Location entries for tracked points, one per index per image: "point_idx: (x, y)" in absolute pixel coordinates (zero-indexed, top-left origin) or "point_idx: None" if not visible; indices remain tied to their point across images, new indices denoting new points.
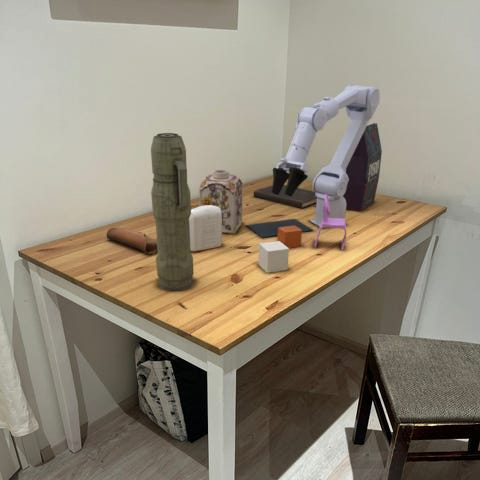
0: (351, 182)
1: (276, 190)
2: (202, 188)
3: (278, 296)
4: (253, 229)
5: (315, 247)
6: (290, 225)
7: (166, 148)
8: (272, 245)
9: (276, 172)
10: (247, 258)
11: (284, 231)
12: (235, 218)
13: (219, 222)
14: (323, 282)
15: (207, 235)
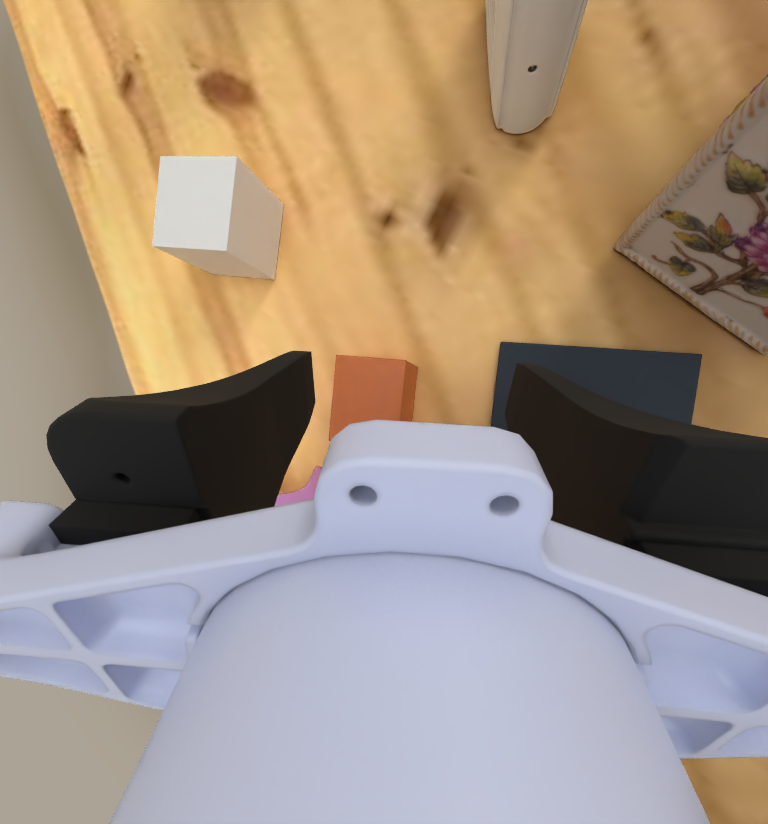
0: None
1: (518, 402)
2: None
3: (99, 166)
4: (616, 354)
5: (314, 469)
6: None
7: None
8: (199, 200)
9: (618, 432)
10: (342, 190)
11: (347, 358)
12: (649, 212)
13: (502, 9)
14: (114, 324)
15: None
